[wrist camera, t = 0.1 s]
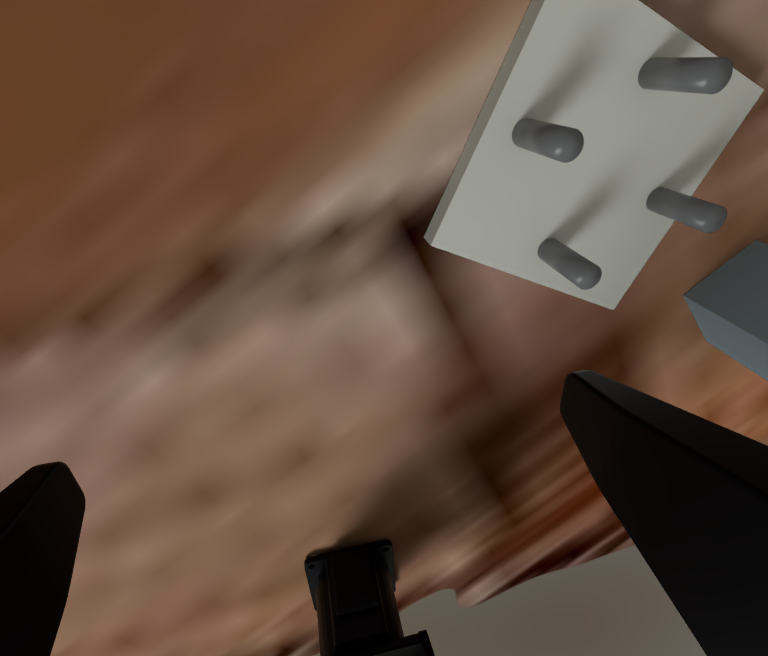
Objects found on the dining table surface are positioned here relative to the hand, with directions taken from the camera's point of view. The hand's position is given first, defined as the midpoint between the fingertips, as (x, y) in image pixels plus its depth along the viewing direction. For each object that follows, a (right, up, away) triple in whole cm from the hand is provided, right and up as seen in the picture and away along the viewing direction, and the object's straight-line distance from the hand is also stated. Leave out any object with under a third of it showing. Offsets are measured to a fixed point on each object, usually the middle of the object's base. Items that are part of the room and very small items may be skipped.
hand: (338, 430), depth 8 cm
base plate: (+11, +10, +14) cm, 20 cm away
